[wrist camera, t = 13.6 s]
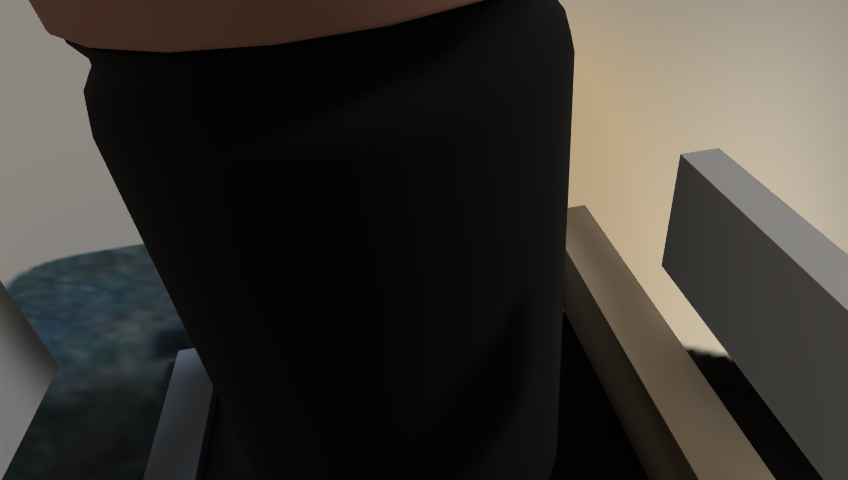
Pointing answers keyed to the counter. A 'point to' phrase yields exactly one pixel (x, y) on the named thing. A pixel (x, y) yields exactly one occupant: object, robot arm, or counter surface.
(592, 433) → the counter surface
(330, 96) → the coffee jar
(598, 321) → the divider rack
